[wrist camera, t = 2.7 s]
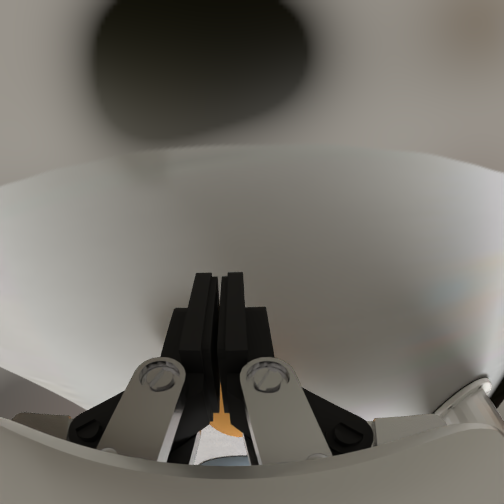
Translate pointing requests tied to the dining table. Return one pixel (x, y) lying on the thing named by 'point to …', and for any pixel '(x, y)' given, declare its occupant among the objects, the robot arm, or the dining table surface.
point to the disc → (228, 461)
